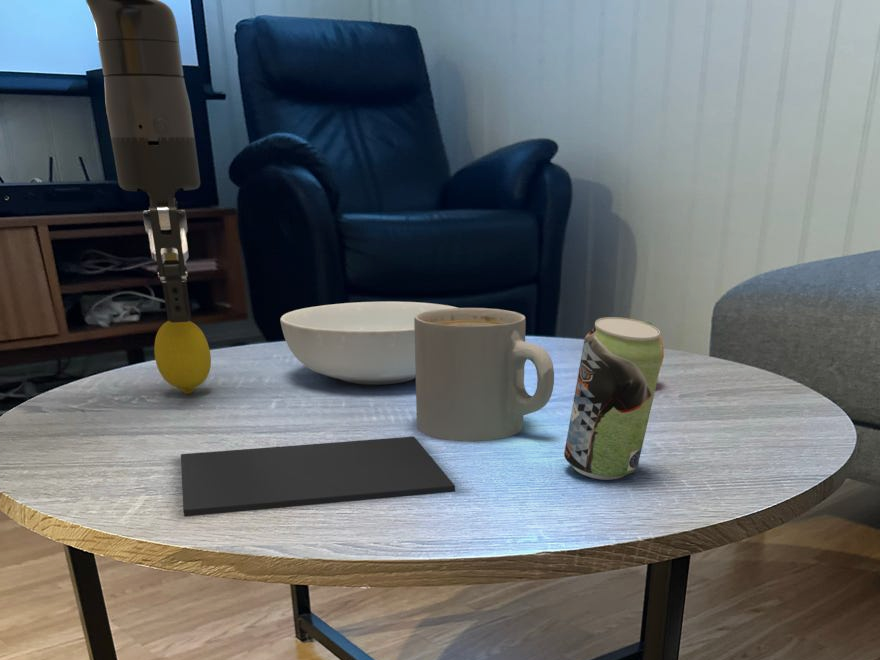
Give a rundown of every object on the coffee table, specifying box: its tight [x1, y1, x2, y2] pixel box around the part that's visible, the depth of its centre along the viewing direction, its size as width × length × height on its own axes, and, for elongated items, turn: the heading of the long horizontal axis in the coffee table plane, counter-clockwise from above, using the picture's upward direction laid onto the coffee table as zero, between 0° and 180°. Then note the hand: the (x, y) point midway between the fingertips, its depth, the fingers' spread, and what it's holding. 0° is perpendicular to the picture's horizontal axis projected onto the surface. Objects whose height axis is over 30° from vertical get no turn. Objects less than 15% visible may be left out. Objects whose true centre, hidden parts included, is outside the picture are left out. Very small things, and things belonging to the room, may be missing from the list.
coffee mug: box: [414, 307, 555, 442], centre depth 85 cm, size 13×10×10 cm
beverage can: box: [563, 316, 664, 481], centre depth 73 cm, size 6×7×12 cm
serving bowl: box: [279, 301, 458, 386], centre depth 105 cm, size 21×21×7 cm
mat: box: [180, 436, 456, 517], centre depth 75 cm, size 20×14×1 cm
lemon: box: [153, 320, 212, 395], centre depth 97 cm, size 6×6×8 cm
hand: (179, 314), depth 95 cm, fingers open, 8 cm apart
